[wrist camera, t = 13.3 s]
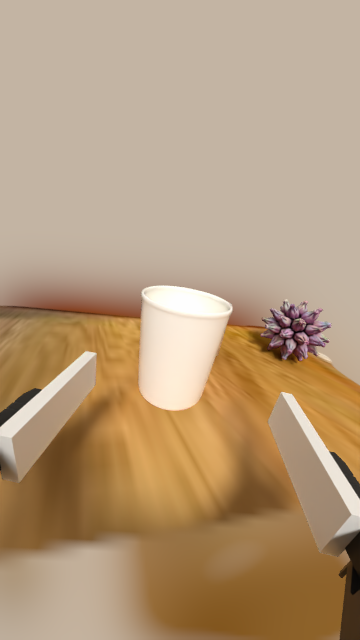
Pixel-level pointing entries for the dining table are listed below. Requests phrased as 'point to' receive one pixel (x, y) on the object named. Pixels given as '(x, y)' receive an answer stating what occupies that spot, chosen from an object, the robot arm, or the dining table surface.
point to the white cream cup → (178, 344)
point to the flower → (295, 330)
